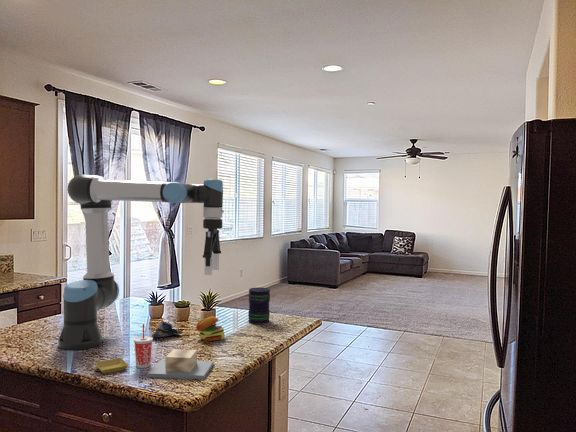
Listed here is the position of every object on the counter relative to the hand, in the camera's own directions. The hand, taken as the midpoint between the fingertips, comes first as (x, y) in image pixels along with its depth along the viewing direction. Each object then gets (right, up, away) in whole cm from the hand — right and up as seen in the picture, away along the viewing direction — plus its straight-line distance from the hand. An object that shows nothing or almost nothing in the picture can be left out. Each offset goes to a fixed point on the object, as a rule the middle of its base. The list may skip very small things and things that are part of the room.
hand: (211, 272), depth 185 cm
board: (-4, -28, -34) cm, 44 cm away
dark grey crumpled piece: (-20, -27, +6) cm, 34 cm away
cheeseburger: (-1, -27, +3) cm, 27 cm away
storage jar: (+17, -27, +31) cm, 44 cm away
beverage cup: (-18, -28, -29) cm, 44 cm away
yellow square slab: (-27, -28, -33) cm, 51 cm away
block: (-4, -27, -34) cm, 43 cm away
